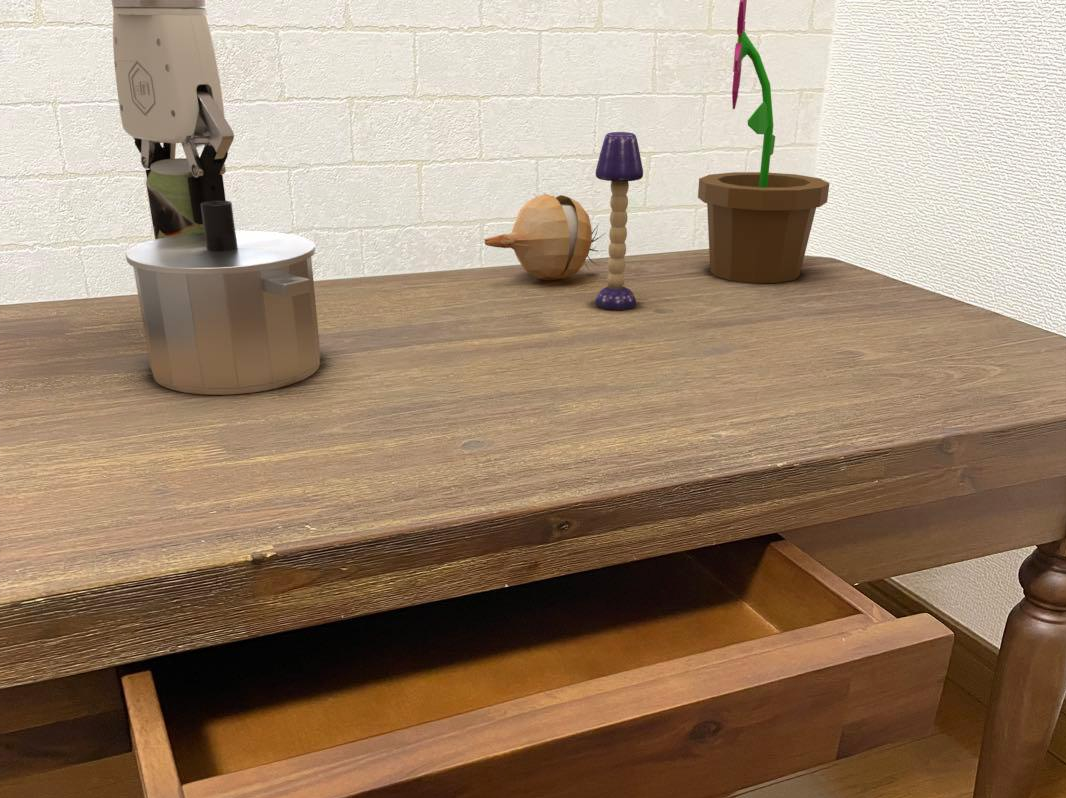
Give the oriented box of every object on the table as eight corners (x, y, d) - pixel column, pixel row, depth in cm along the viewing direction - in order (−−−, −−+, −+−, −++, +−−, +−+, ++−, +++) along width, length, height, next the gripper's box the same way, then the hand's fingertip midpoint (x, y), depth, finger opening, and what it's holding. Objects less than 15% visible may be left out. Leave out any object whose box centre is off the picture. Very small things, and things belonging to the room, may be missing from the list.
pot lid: (195, 292, 75) (186, 227, 73) (92, 263, 83) (81, 203, 81) (353, 260, 84) (348, 201, 82) (246, 237, 93) (240, 183, 91)
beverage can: (223, 283, 103) (207, 155, 98) (237, 298, 97) (222, 162, 92) (157, 289, 101) (137, 157, 95) (167, 304, 95) (147, 165, 89)
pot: (235, 415, 78) (218, 288, 73) (105, 364, 89) (83, 250, 84) (373, 373, 87) (365, 257, 83) (240, 331, 98) (227, 227, 94)
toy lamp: (642, 310, 105) (651, 135, 98) (598, 313, 105) (603, 136, 97) (629, 299, 110) (636, 130, 102) (586, 301, 109) (590, 130, 101)
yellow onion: (631, 204, 114) (512, 177, 107) (617, 290, 116) (499, 270, 108) (586, 206, 122) (472, 180, 114) (574, 286, 124) (461, 267, 116)
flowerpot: (696, 257, 128) (716, -18, 115) (815, 263, 126) (850, -18, 112) (688, 283, 116) (709, -22, 102) (820, 290, 113) (860, -22, 100)
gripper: (64, -4, 90) (103, 211, 98) (175, -5, 80) (208, 235, 88) (144, -3, 95) (174, 202, 103) (257, -4, 85) (281, 223, 93)
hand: (189, 215), depth 95 cm, fingers closed on beverage can, 6 cm apart
